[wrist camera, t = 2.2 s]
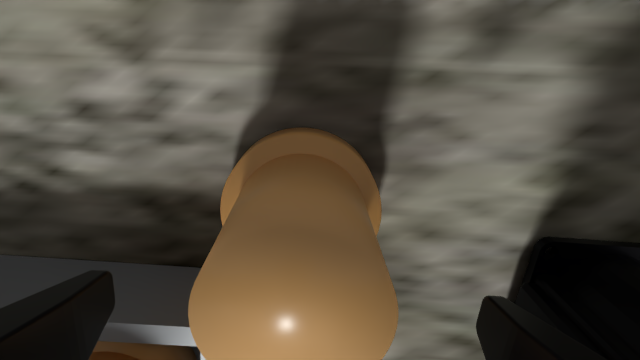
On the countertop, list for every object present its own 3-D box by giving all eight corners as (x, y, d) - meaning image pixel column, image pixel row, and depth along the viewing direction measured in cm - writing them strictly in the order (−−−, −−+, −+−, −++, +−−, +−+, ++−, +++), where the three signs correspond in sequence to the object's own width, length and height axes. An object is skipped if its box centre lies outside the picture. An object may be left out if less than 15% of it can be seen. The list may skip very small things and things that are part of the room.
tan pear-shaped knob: (384, 134, 14) (449, 209, 7) (364, 266, 16) (402, 421, 9) (229, 121, 14) (151, 187, 7) (228, 257, 16) (166, 410, 9)
